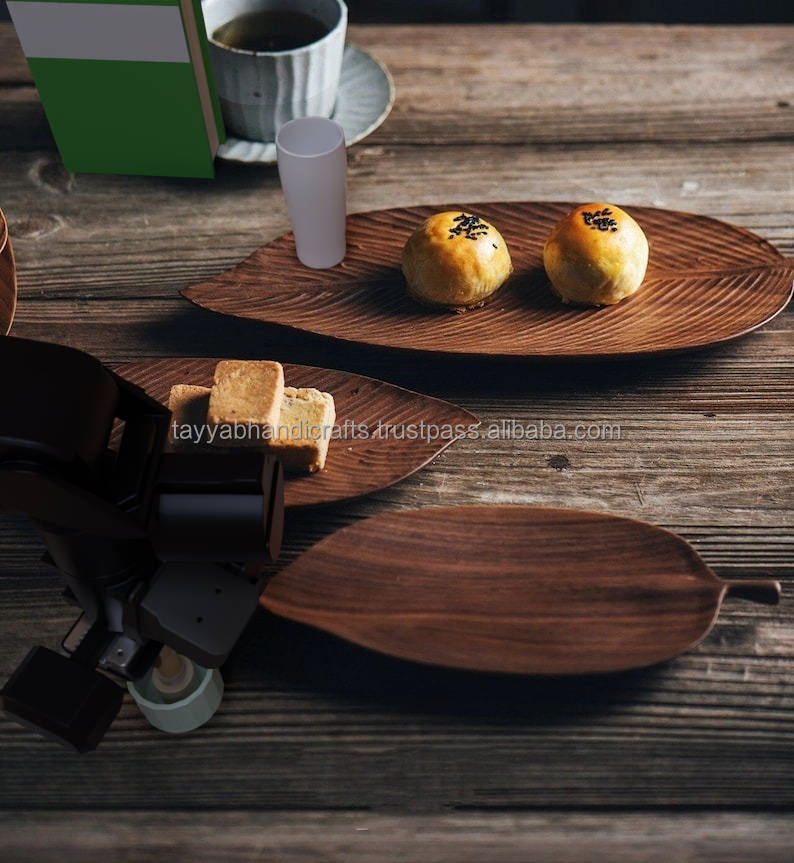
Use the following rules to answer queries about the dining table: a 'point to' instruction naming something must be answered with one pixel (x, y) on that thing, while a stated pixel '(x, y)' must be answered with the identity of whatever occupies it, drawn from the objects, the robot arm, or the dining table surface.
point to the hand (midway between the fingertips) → (161, 652)
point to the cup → (183, 712)
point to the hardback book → (124, 84)
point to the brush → (174, 677)
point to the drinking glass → (314, 187)
